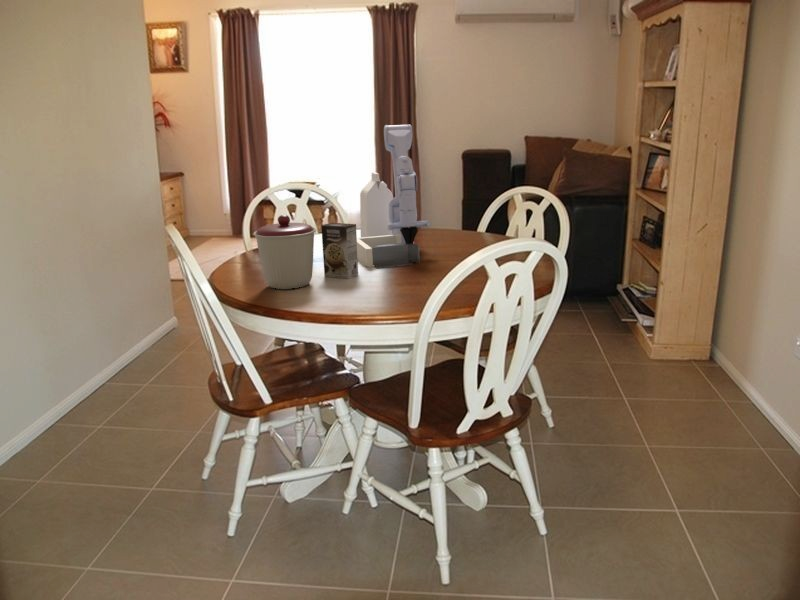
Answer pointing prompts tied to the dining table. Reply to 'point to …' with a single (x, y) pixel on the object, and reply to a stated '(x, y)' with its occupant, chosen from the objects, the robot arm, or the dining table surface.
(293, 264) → the canister
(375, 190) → the milk
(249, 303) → the dining table surface
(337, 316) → the dining table surface
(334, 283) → the dining table surface
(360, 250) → the shallow white tray
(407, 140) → the robot arm
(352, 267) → the coffee box
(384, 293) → the dining table surface
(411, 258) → the grey long angular piece
